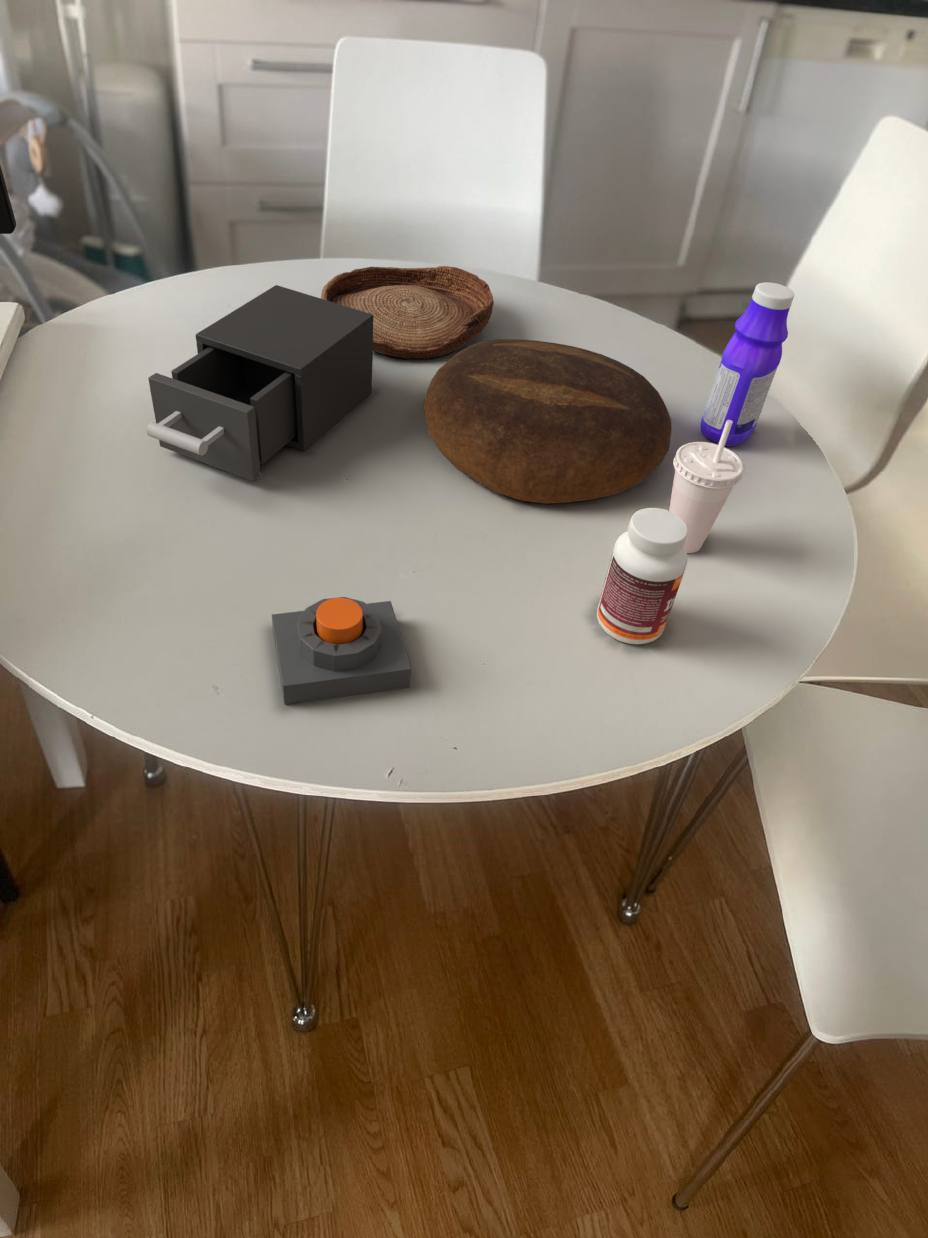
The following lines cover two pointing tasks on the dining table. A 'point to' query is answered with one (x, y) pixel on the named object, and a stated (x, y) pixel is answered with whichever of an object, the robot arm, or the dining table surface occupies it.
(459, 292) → the basket
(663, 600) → the pill bottle
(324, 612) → the button
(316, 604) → the control block
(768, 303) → the bottle
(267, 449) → the fryer drawer
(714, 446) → the smoothie
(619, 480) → the bread
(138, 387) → the dining table surface
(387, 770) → the dining table surface
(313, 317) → the grey drawer cabinet
